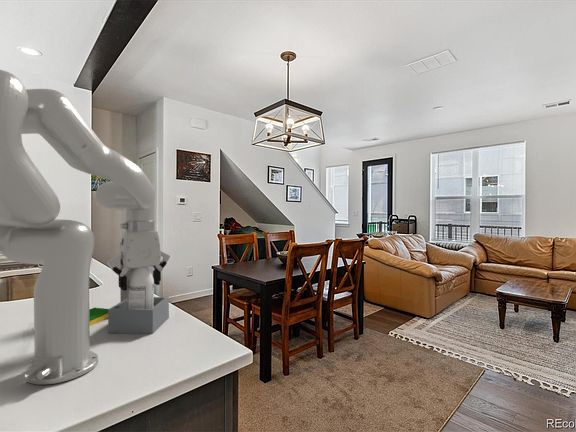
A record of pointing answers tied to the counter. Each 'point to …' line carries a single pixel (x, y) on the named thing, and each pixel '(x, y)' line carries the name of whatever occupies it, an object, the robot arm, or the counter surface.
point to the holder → (138, 317)
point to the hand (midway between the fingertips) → (140, 286)
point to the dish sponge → (98, 315)
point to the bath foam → (140, 289)
